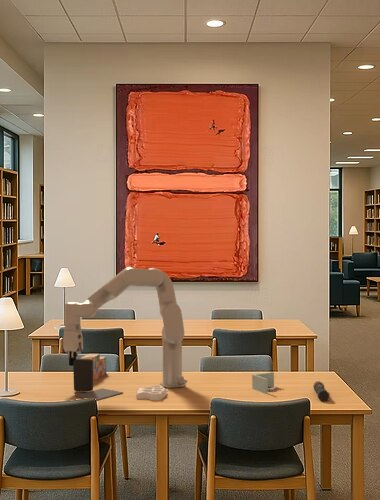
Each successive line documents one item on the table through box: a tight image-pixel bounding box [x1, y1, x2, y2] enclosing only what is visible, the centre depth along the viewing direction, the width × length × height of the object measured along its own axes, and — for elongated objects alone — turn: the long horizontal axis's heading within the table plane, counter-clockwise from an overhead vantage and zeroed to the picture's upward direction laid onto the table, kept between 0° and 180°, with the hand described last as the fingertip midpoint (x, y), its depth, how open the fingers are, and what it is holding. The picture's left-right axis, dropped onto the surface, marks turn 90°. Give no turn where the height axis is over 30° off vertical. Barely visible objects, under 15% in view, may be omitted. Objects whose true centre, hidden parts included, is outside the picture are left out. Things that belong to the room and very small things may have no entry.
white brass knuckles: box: [135, 384, 169, 401], centre depth 349 cm, size 3×18×15 cm
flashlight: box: [313, 381, 330, 402], centre depth 347 cm, size 5×22×5 cm, turn 177°
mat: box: [74, 388, 124, 402], centre depth 351 cm, size 14×18×1 cm
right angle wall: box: [251, 371, 277, 394], centre depth 359 cm, size 12×12×8 cm
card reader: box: [72, 358, 94, 392], centre depth 358 cm, size 9×4×15 cm, turn 84°
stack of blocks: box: [79, 353, 107, 382], centre depth 390 cm, size 21×6×12 cm, turn 165°
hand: (72, 365), depth 362 cm, fingers closed
